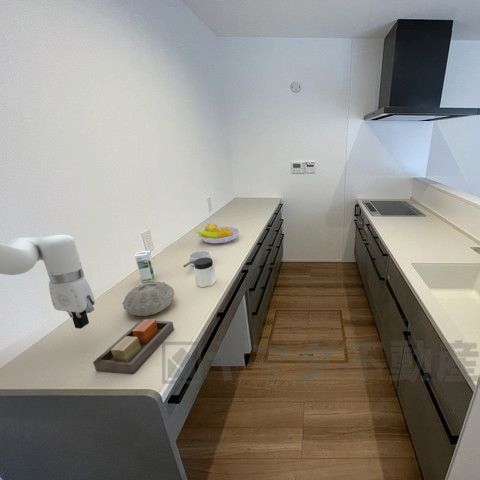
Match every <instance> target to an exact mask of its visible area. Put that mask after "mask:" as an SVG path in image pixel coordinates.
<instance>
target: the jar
mask: <svg viewBox="0 0 480 480" xmlns="http://www.w3.org/2000/svg"><path fill="white" fill-rule="evenodd" d="M193 274H194V279H195V284H196V286H198V287H200V288H207V287H212V286H213V285H214V284H215V283H216V282H217V277H216V269H215V264H214V262H213V258H211V257H210V258H208V257H204V258H199V259H197V260H195V261H194V266H193Z"/></svg>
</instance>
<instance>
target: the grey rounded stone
mask: <svg viewBox="0 0 480 480" xmlns="http://www.w3.org/2000/svg"><path fill="white" fill-rule="evenodd" d="M174 296H175V291H174V289H173V287H172V286H171V285H169V284H168V283H166V282H165V281H150V282H145V283H143V284H141V285H138V286H135V287H134V288H132V289H131V290H130V291H128V293H127V294H126V295H125V297H124V300H123V301H122V308H123V309H124V311H125V312H127V313H128V314H130V315H132V316H137V317H148V316H151V315H155V314H158V313H160V312H162V311H163V310H165V309H166V308H168V307H169V306H170V304H171V303H172V301H173V298H174Z"/></svg>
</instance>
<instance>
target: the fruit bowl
mask: <svg viewBox="0 0 480 480" xmlns="http://www.w3.org/2000/svg"><path fill="white" fill-rule="evenodd" d="M194 231H195V233H196V234H198V237H199V238H200V239H201V240H202V241H203V242H205V243H208V244H226V243H228V242H231V241H233V240H235V239H236V238H237V237H238V235H239V234H240V230H239V228H237V227H233V226H218V225H217V224H215V223H207V225H206V226H204V230H197V229H195V228H194Z"/></svg>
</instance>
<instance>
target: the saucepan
mask: <svg viewBox="0 0 480 480" xmlns="http://www.w3.org/2000/svg"><path fill="white" fill-rule="evenodd" d="M211 254H212V253H211V252H210V250H209V251H208V250H198V251H193V252H191V253H189V254H188V259H189V261H188V262H187V263H185V264H183V266H182V267H183V268H186V267H189V265H190V266H192V267H194V261H195V260H197V259H199V258H204V257H208V258H211Z"/></svg>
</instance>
